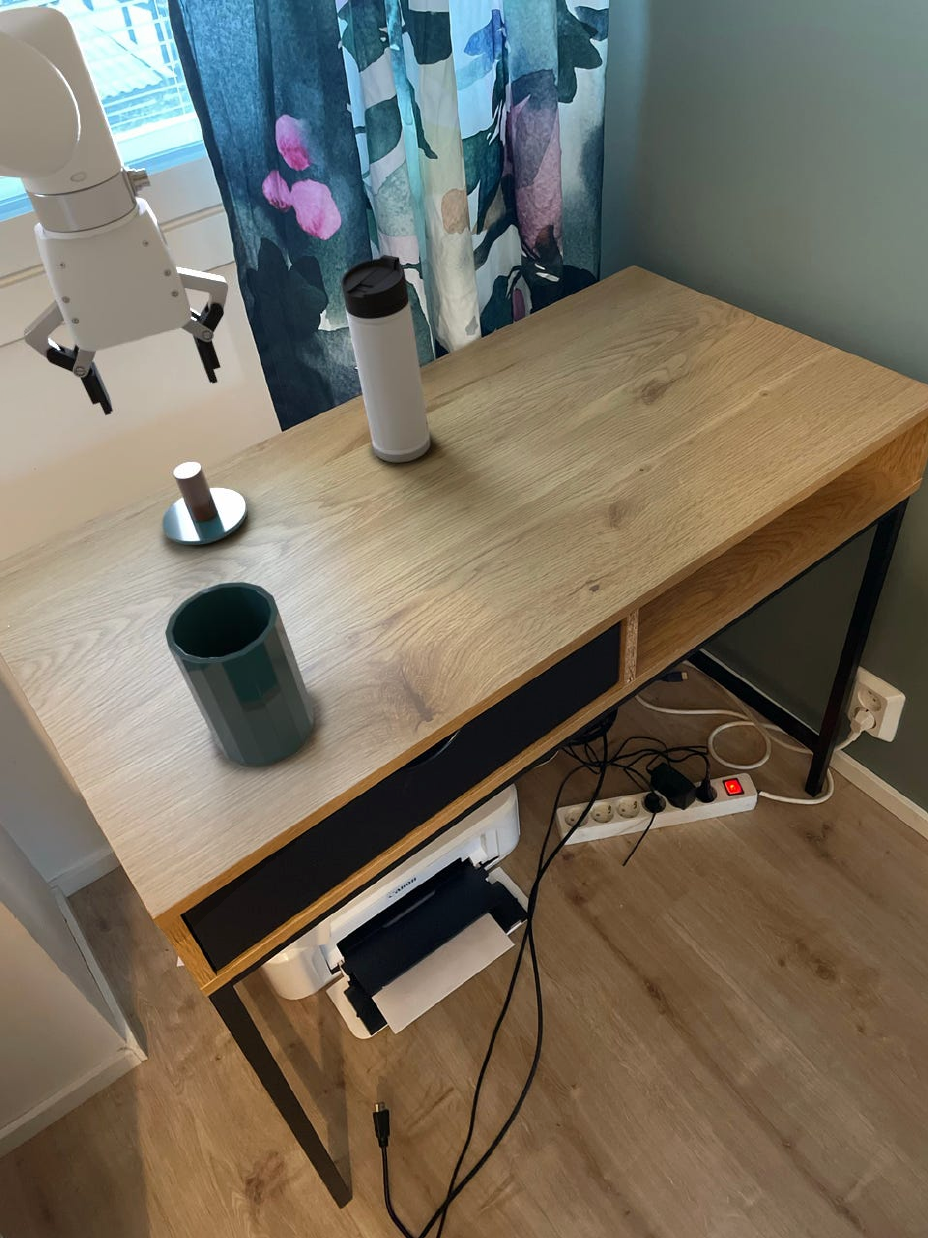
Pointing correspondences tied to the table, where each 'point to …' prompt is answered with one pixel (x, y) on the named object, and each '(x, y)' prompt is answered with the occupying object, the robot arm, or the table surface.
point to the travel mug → (387, 357)
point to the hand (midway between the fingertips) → (160, 391)
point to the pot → (242, 672)
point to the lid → (202, 509)
